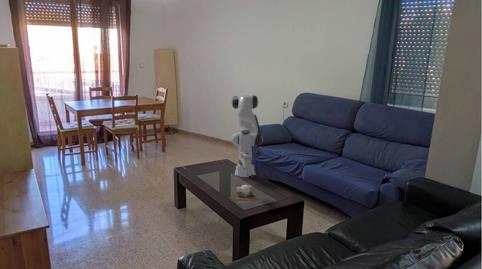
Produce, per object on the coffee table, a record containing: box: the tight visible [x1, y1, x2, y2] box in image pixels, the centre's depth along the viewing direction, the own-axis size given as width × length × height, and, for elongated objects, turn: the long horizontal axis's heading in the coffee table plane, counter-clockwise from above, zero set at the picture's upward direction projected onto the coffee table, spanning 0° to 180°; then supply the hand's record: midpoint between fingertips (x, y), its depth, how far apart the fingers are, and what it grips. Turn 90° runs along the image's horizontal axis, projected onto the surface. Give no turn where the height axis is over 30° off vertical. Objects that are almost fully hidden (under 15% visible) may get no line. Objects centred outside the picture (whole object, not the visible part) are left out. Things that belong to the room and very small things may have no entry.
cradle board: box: [232, 188, 260, 204], centre depth 249 cm, size 22×16×3 cm
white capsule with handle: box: [236, 184, 252, 197], centre depth 250 cm, size 10×6×7 cm, turn 100°
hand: (245, 171), depth 247 cm, fingers open, 8 cm apart
